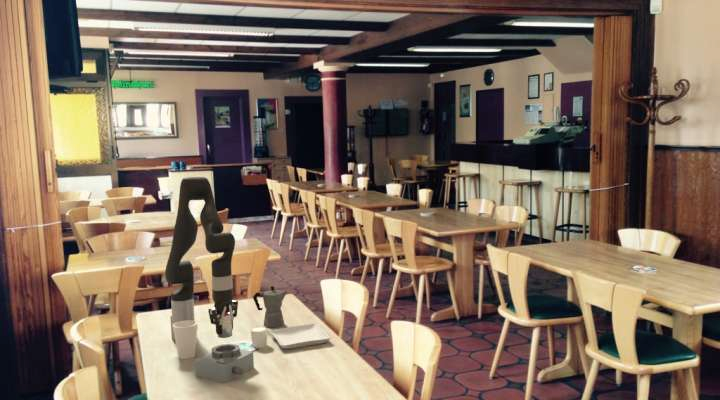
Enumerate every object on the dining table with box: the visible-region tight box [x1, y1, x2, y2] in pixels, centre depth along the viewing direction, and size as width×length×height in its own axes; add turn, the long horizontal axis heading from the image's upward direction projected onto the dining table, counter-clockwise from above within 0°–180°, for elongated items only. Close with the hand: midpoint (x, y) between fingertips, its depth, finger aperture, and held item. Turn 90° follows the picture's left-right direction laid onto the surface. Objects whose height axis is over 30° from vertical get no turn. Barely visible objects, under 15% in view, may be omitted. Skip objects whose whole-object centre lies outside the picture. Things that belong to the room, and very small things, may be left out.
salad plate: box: [269, 323, 331, 350], centre depth 264 cm, size 21×21×3 cm
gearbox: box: [194, 343, 255, 384], centre depth 231 cm, size 17×16×8 cm
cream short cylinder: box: [249, 326, 268, 349], centre depth 259 cm, size 7×7×7 cm
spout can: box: [217, 311, 233, 339], centre depth 232 cm, size 5×5×9 cm
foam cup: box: [173, 320, 198, 360], centre depth 248 cm, size 10×9×13 cm
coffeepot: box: [252, 285, 288, 329], centre depth 285 cm, size 15×9×18 cm, turn 103°
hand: (224, 331), depth 232 cm, fingers closed on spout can, 5 cm apart
